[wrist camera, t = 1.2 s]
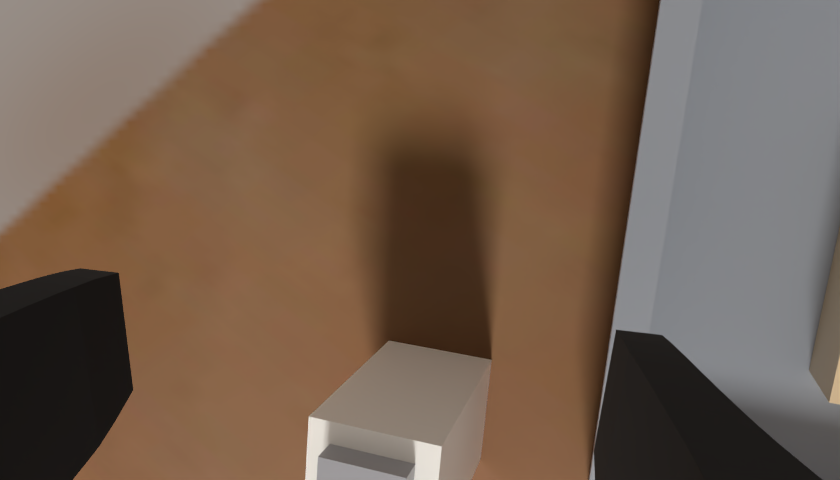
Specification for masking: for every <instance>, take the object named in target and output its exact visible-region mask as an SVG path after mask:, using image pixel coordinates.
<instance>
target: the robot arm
mask: <svg viewBox="0 0 840 480" xmlns="http://www.w3.org/2000/svg"><path fill="white" fill-rule="evenodd" d="M132 391H133V385H132V377H131V369H130V361H129V353H128V345H127V337H126V329H125V320H124V312H123V304H122V296H121V288H120V280H119V273H115V272H106V271H97V270H89V269H75V270H69V271H64V272H59V273H55V274H51V275H47V276H44V277H40V278H36V279H33V280H29V281H26V282H23V283H19V284H16V285H13V286H10V287H6V288H3V289H0V480H73V478H74V477H75V476H76V475H77V473H78V472H79V471H80V470H81V468H82V467H83V466H84V465H85V464H86V462H87V461H88V460H89V459H90V457H91V456H92V455H93V453H94V452H95V451H96V450H97V448H98V447H99V446H100V444H101V443H102V441H103V439H104V438H105V436H106V435H107V433H108V431H109V430H110V428H111V427H112V425H113V424H114V422H115V420H116V419H117V417H118V415H119V413H120V412H121V410H122V408H123V407H124V405H125V403H126V401H127V400H128V398H129V396H130V394H131V393H132ZM594 467H595V480H822V479H821V478H820V477H819V476H817V475H816V474H815V473H814V472H813V471H811V470H810V469H809V468H808V467H806V466H805V465H804V464H803V463H802V462H800V461H799V460H798V459H797V458H796V457H794V456H793V455H792V454H791V453H790V452H788V451H787V450H786V449H785V448H784V447H782V446H781V445H780V444H779V443H777V442H776V441H775V440H774V439H773V438H772V437H771V436H770V435H768V434H767V433H766V432H765V431H764V430H763V429H762V428H760V427H759V426H758V425H757V424H756V423H755V422H754V421H753V420H752V419H750V418H749V417H748V416H747V415H746V414H745V413H744V412H743V411H742V410H741V409H740V408H738V407H737V406H736V405H735V404H734V403H733V402H732V401H731V400H730V399H729V398H728V397H727V396H726V395H725V394H724V393H723V392H722V391H720V390H719V389H718V388H717V387H716V386H715V385H714V384H713V383H712V382H711V381H710V380H709V379H708V378H707V377H706V376H705V375H704V374H703V373H702V372H701V371H700V370H699V369H698V368H697V367H696V366H695V365H694V364H693V363H692V362H691V361H690V360H689V359H688V358H687V357H686V356H685V355H684V354H683V353H681V352H680V351H679V350H678V349H677V348H676V347H675V346H674V345H673V344H672V343H671V342H670V341H669V340H668V339H666V338H665V337H664V336H663V335H658V334H650V333H641V332H632V331H623V330H616V333H615V338H614V344H613V349H612V354H611V360H610V365H609V371H608V376H607V382H606V387H605V393H604V398H603V404H602V409H601V414H600V420H599V425H598V431H597V436H596V442H595V447H594Z"/></svg>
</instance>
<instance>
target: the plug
mask: <svg viewBox="0 0 840 480" xmlns="http://www.w3.org/2000/svg"><path fill="white" fill-rule="evenodd" d="M491 362H492V360H490V359H485V358H479V357H474V356H469V355H463V354H458V353H453V352H448V351H442V350H437V349H432V348H426V347H421V346H416V345H410V344H405V343H400V342H395V341H388V342H387V343H386V344H385V345H384V346H383V347H381V348H380V349H379V350H378V351H377V352H376V353H375V354H374V355H373V356H372V357H371V358H370V359H369V360H368V361H367V362H366V363H365V364H364V365H363V366H361V367H360V368H359V369H358V370H357V371H356V372H355V373H354V374H353V375H352V376H351V377H350V378H349V379H348V380H347V381H346V382H345V383H344V384H342V385H341V386H340V387H339V388H338V389H337V390H336V391H335V392H334V393H333V394H332V395H331V396H330V397H329V398H328V399H327V400H326V401H325V402H324V403H322V404H321V405H320V406H319V407H318V408H317V409H316V410H315V411H314V412H313V413H312V414H311V415H310V416H309V422H308V441H307V459H306V478H305V480H471V479H472V477H473V475H474V473H475V470H476V468H477V466H478V464H479V461H480V459H481V451H482V442H483V433H484V424H485V415H486V406H487V397H488V388H489V379H490V371H491Z"/></svg>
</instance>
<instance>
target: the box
mask: <svg viewBox="0 0 840 480" xmlns="http://www.w3.org/2000/svg"><path fill="white" fill-rule="evenodd" d="M616 330H623V331H632V332H641V333H650V334H658V335H663V336H664V337H665V338H666V339H668V340H669V341H670V342H671V343H672V344H673V345H674V346H675V347H676V348H677V349H678V350H679V351H680V352H681V353H683V354H684V355H685V356H686V357H687V358H688V359H689V360H690V361H691V362H692V363H693V364H694V365H695V366H696V367H697V368H698V369H699V370H700V371H701V372H702V373H703V374H704V375H705V376H706V377H707V378H708V379H709V380H710V381H711V382H712V383H713V384H714V385H715V386H716V387H717V388H718V389H719V390H720V391H722V392H723V393H724V394H725V395H726V396H727V397H728V398H729V399H730V400H731V401H732V402H733V403H734V404H735V405H736V406H737V407H738V408H740V409H741V410H742V411H743V412H744V413H745V414H746V415H747V416H748V417H749V418H750V419H752V420H753V421H754V422H755V423H756V424H757V425H758V426H759V427H760V428H762V429H763V430H764V431H765V432H766V433H767V434H768V435H770V436H771V437H772V438H773V439H774V440H775V441H776V442H777V443H779V444H780V445H781V446H782V447H784V448H785V449H786V450H787V451H788V452H790V453H791V454H792V455H793V456H794V457H796V458H797V459H798V460H799V461H800V462H802V463H803V464H804V465H805V466H806V467H808V468H809V469H810V470H811V471H813V472H814V473H815V474H816V475H817V476H819V477H820V478H821V479H822V480H840V0H660V1H659V8H658V15H657V21H656V28H655V35H654V42H653V48H652V55H651V62H650V69H649V75H648V82H647V89H646V96H645V102H644V109H643V116H642V123H641V129H640V136H639V143H638V150H637V156H636V163H635V170H634V177H633V183H632V190H631V197H630V204H629V210H628V217H627V224H626V231H625V237H624V244H623V251H622V258H621V264H620V271H619V278H618V285H617V291H616V298H615V305H614V312H613V318H612V325H611V332H610V339H609V345H608V352H607V359H606V366H605V372H604V379H603V386H602V393H601V399H600V406H599V413H598V420H597V426H596V433H595V440H594V447H595V442H596V436H597V431H598V425H599V420H600V414H601V409H602V404H603V398H604V393H605V387H606V382H607V376H608V371H609V365H610V360H611V354H612V349H613V344H614V338H615V333H616ZM594 447H593V453H592V460H591V467H590V474H589V480H595V467H594Z"/></svg>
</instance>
